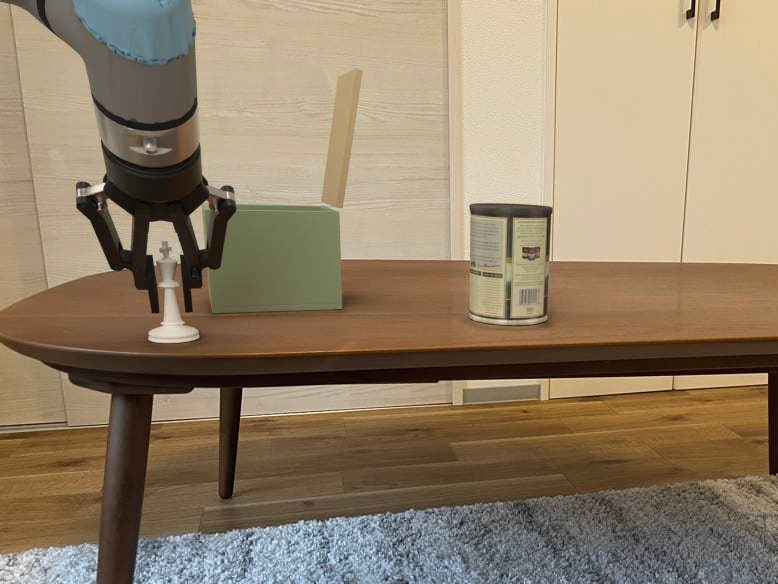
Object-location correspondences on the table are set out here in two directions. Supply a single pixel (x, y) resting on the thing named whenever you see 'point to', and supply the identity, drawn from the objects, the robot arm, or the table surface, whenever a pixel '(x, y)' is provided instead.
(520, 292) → the coffee can
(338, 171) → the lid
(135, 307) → the table surface
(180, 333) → the chess piece
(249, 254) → the chest
